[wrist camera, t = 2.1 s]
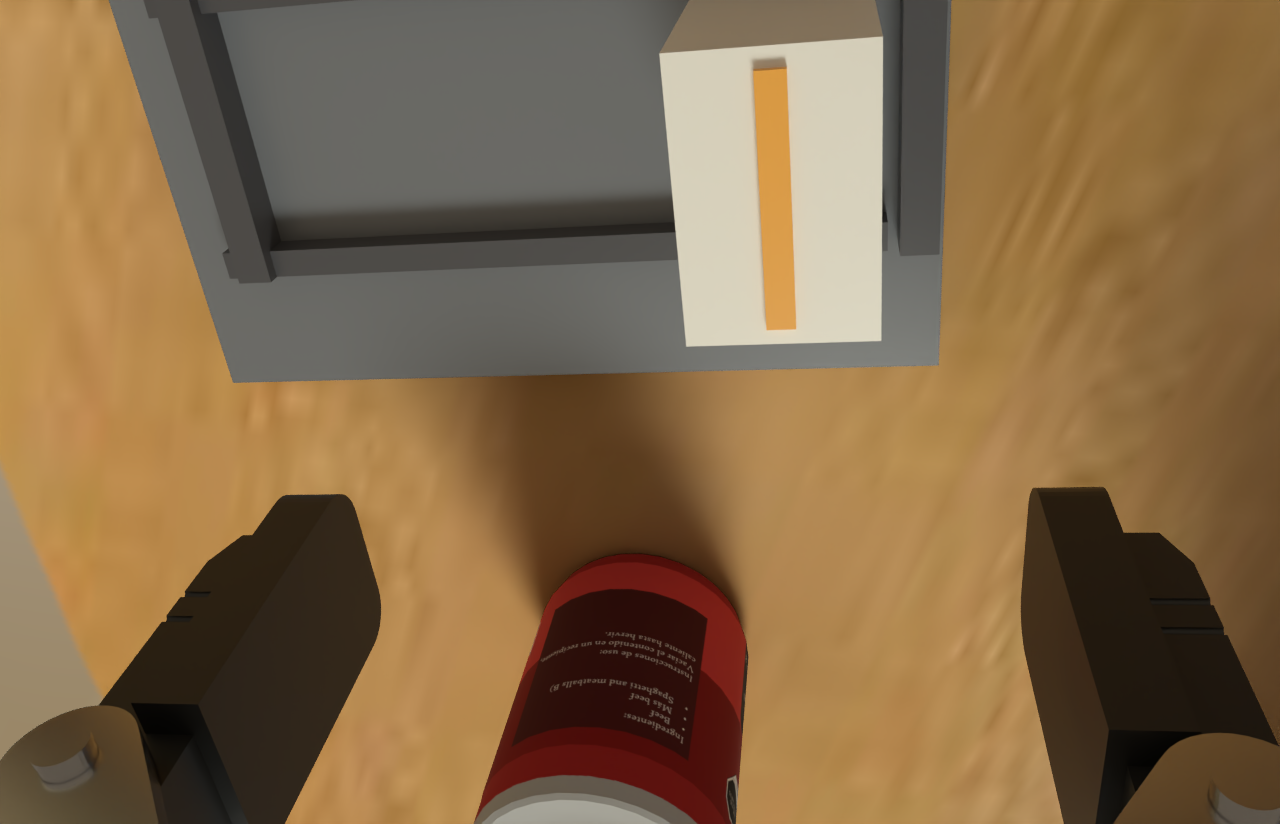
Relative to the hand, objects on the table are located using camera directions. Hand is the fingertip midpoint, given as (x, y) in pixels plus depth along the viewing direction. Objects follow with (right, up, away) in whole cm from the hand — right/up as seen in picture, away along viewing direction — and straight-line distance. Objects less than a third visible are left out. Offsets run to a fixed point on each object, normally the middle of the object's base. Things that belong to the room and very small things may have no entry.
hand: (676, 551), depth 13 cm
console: (-3, +11, +18) cm, 21 cm away
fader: (+3, +10, +15) cm, 18 cm away
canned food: (0, -6, +28) cm, 29 cm away
